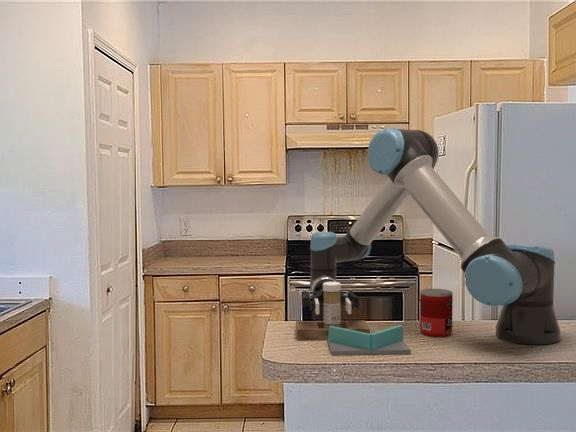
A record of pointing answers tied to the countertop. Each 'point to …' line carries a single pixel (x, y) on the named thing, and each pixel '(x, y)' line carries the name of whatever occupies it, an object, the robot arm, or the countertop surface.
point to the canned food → (436, 312)
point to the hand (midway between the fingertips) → (333, 308)
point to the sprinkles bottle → (332, 304)
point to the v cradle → (367, 342)
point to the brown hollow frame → (317, 331)
